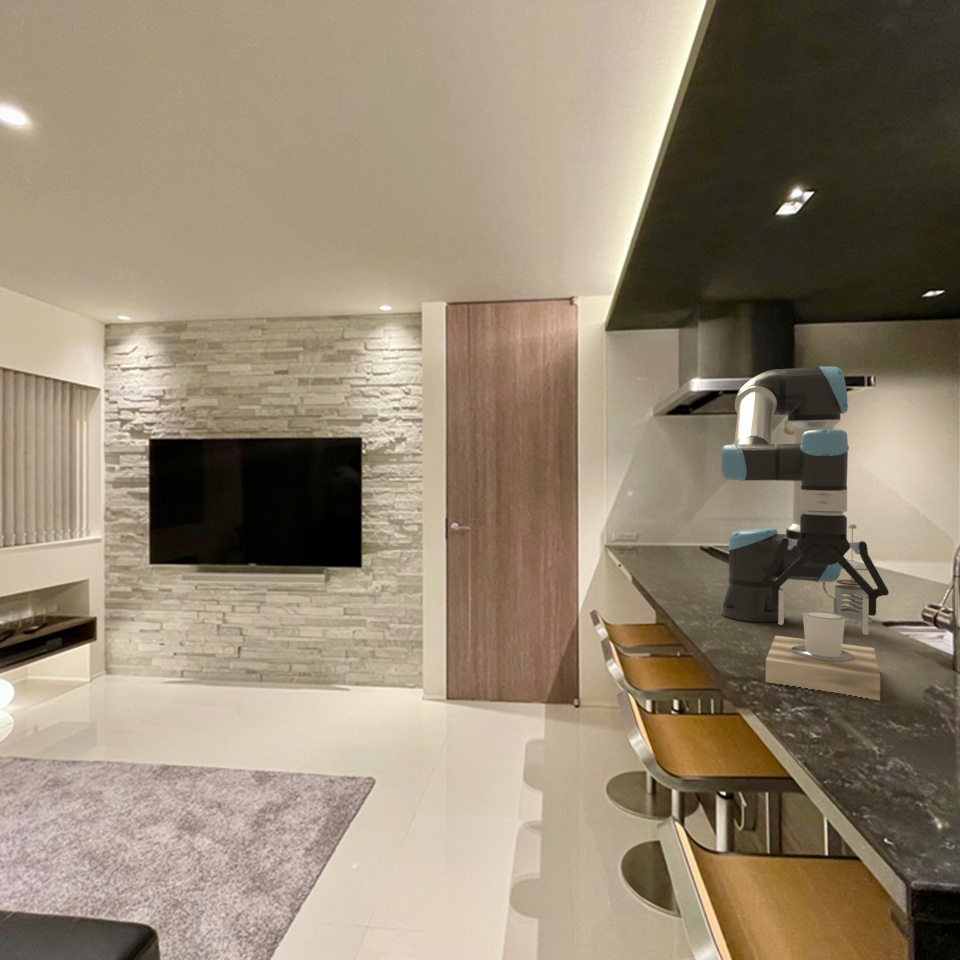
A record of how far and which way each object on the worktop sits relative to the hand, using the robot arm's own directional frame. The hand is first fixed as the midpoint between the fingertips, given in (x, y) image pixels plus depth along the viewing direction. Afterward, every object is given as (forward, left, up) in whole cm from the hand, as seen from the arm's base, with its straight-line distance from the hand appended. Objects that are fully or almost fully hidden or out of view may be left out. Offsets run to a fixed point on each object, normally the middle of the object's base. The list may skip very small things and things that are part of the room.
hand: (821, 628), depth 112 cm
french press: (-59, +5, -9) cm, 60 cm away
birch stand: (0, 0, -9) cm, 9 cm away
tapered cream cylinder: (0, 0, -5) cm, 5 cm away
